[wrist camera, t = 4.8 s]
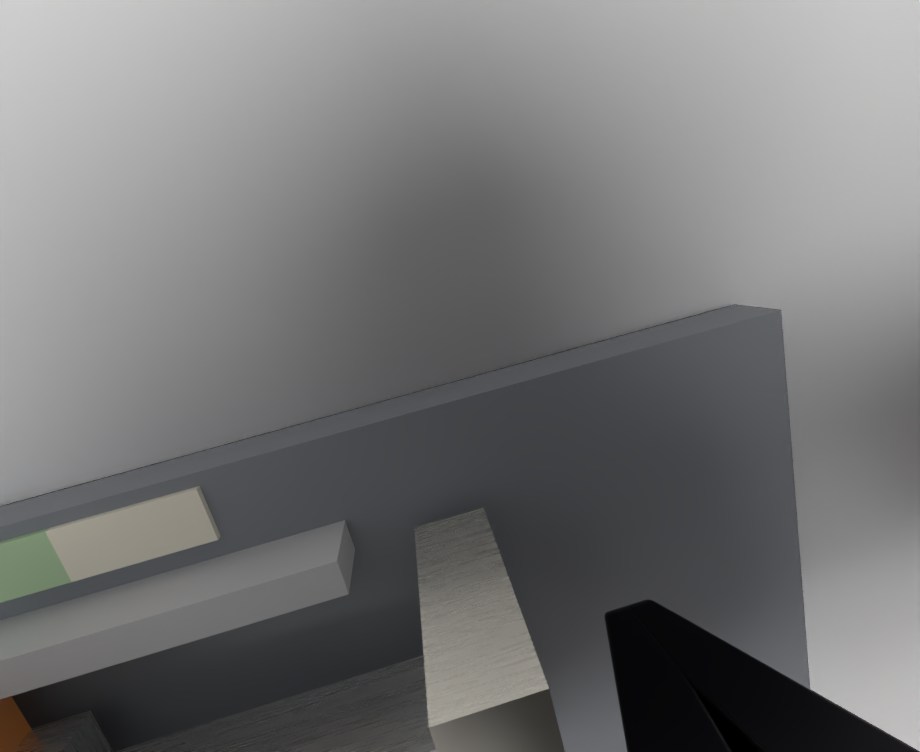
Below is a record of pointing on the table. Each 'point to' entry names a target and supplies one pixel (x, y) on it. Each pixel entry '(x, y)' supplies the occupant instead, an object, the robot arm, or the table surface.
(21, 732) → the orange tabbed block
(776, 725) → the robot arm
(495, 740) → the plunger
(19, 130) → the table surface
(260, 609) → the gauge bed
